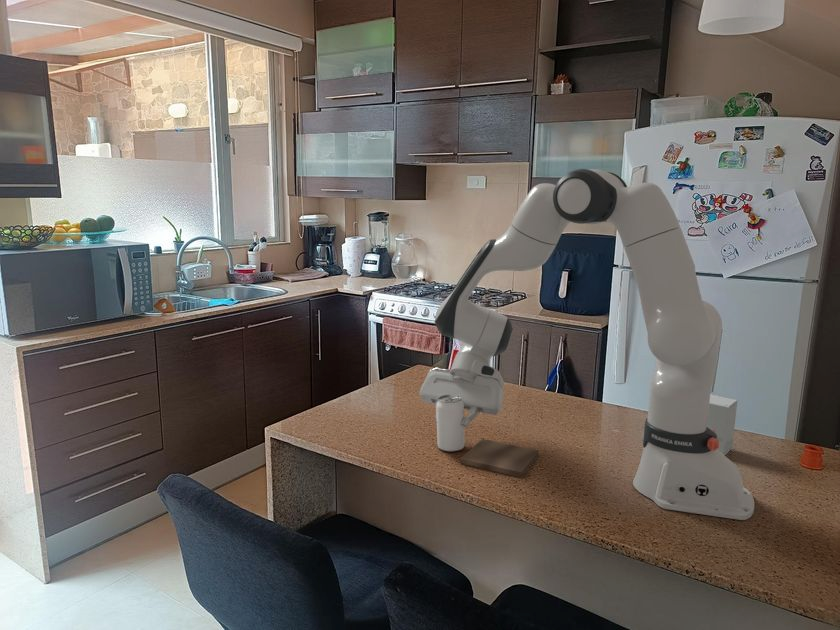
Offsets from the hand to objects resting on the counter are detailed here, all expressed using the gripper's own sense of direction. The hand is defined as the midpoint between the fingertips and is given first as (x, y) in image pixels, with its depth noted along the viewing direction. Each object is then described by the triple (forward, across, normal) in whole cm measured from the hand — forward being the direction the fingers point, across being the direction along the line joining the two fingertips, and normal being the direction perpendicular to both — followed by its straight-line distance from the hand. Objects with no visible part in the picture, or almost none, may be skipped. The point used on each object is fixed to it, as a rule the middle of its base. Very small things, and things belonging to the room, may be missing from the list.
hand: (451, 423), depth 142 cm
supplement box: (-17, +55, +26) cm, 63 cm away
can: (+4, 0, +5) cm, 6 cm away
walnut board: (+4, +12, +5) cm, 14 cm away
